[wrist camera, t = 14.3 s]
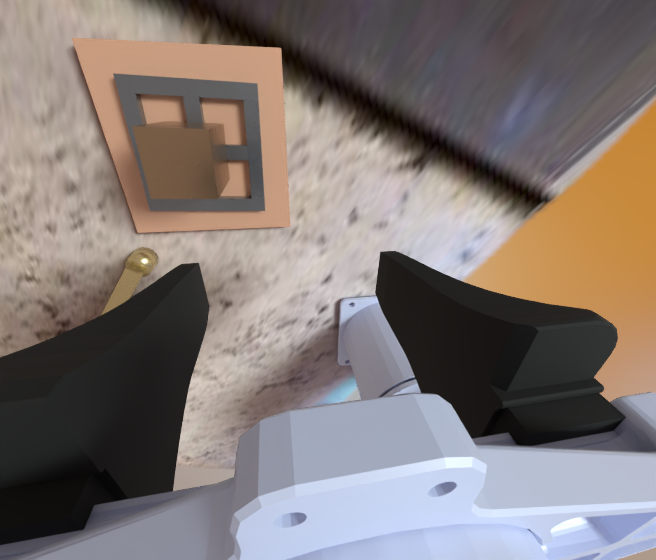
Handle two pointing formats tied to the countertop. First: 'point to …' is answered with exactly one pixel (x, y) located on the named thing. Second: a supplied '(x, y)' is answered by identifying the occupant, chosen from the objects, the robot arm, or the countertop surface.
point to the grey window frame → (192, 145)
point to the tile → (193, 64)
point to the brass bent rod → (132, 276)
